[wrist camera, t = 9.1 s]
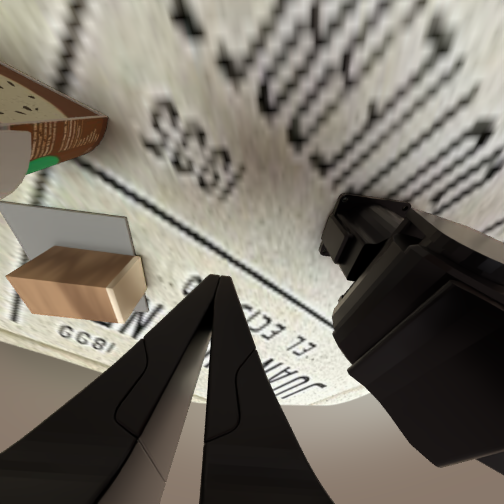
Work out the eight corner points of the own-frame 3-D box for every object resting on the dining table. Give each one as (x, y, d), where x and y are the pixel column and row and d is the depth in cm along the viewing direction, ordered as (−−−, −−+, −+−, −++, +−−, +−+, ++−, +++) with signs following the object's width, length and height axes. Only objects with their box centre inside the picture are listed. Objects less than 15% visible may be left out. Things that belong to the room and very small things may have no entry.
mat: (126, 217, 20) (124, 218, 19) (148, 310, 27) (147, 312, 27) (-3, 200, 19) (-6, 202, 19) (58, 301, 27) (56, 303, 26)
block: (112, 288, 18) (5, 276, 17) (124, 323, 20) (32, 313, 20) (140, 256, 22) (54, 245, 21) (146, 289, 25) (71, 280, 24)
